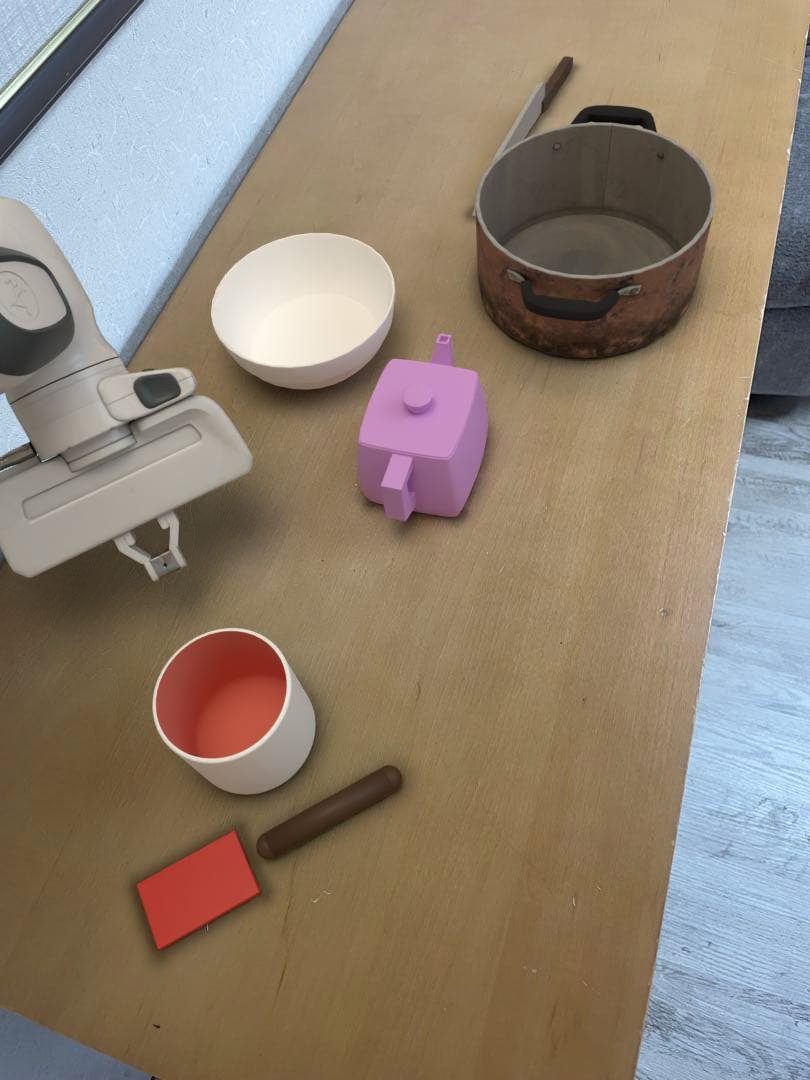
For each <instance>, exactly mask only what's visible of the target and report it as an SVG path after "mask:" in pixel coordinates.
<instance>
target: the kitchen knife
mask: <svg viewBox="0 0 810 1080" xmlns="http://www.w3.org/2000/svg"><path fill="white" fill-rule="evenodd" d="M573 65H574V57H572V56H567V55H565V56H563V57H562V59H561V60H560V61H559V63H558V65H557V66H556V68H555V69H554V70H553V73H552V74H551V76H550V77H549V79H548V80H547V81H546V83H544V82H540V81H539V82H538V83H537V84H536V86H535V88H534V89H533V90H532V92H531V94H530V95H529V97H528V99H527V101H526V102H525V105H524V106H523V107H522V109H521V111H520V112H519V114H518V116H517V117H516V119H515V121H514V123H513V124H512V126H511V128H510V130H509V131H508V133H507V134H506V137H505V138H504V140H503V141H502V143H501V144H500V146H499V148H498V150H497V151H496V154H494V157H493V159H492V161H491V163H492V162H493V161H494V160H495V159H496V158H497V157H498V156H499V155H500V154H501V153H503V152H504V151H506V150H507V149H508V148H510V147H511V146H513V145H514V144H516V143H517V142H519V141H521V140H523V139H525V138H527V135H528V133H529V132H530V130H531V129H532V128H533V127H534V125H535V123H536V122H537V120H538V118H539V117H540V115H541V113H545V111H546V109H547V108H548V106H549V105H550V103H551V101H552V100H553V98H554V97H555V95H556V94H557V92H558V91H559V89H560V88H561V87H562V84H563V83H564V82H565V80H566V78H567V77H568V75H570V72H571V70H572V68H573ZM471 216H472V217H475V218H476V213H475V206H474V208H473V211H472V215H471Z"/></svg>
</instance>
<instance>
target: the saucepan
mask: <svg viewBox="0 0 810 1080" xmlns="http://www.w3.org/2000/svg"><path fill="white" fill-rule="evenodd" d="M655 121H656V120H655V118H654V115H653V114H652V113H651V112H650V111H648V110H646V109H643V108H639V107H634V106H626V105H613V104H611V105H610V104H598V105H597V104H595V105H590V106H586V107H584V108H582V109H581V110H580V111H579V112H578V114H576V116H575V117H574V119H573V120H572V121H571V123H570V124H567V125H562V126H557V127H552V128H548V129H546V130H543V131H540V132H537V133H533V134H531V135H529V136H526V137H525V139H523V140H521V141H519V142H517V143H516V144H514V145H513V146H511V147H510V148H508V149H507V150H506V151H504V152H503V153H501V154H500V155H499V156H498V157H497V158H496V159H495V160H494V161H493V160H492V161H493V162H492V161H491V163H490V164H489V165H488V167H487V169H486V170H485V171H484V173H483V174H482V175H481V177H480V179H479V182H478V185H477V188H476V192H475V202H474V207H475V213H476V217H475V231H476V233H475V234H476V235H475V237H476V257H477V258H476V260H477V280H478V288H479V294H480V298H481V299H480V300H481V301H482V304H483V306H484V308H485V310H486V312H487V314H488V315H489V316H490V317H491V319H492V320H493V321H494V323H495V324H496V325H497V326H498V327H499V328H500V329H501V330H503V331H504V332H505V333H506V334H508V335H509V336H510V337H512V338H513V339H515V340H517V341H519V342H521V343H522V344H524V345H526V346H528V347H530V348H533V349H536V350H539V351H540V352H542V353H547V354H550V355H551V354H552V355H556V356H561V357H566V358H577V359H579V358H580V359H593V358H604V357H610V356H615V355H620V354H625V353H627V352H630V351H633V350H635V349H638V348H641V347H644V346H647V345H648V344H650V343H652V342H654V341H655V340H657V339H659V338H660V337H663V336H664V335H665V334H666V333H668V331H669V330H671V329H672V328H673V327H674V326H676V324H677V323H678V322H679V321H680V320H681V318H682V317H683V316H684V315H685V313H686V312H687V310H688V308H689V305H690V303H691V301H692V299H693V297H694V294H695V291H696V288H697V283H698V279H699V275H700V272H701V266H702V262H703V259H704V255H705V250H706V247H707V242H708V238H709V234H710V231H711V225H712V221H713V218H714V213H715V206H716V201H717V197H716V190H715V183H714V182H713V179H712V177H711V174H710V173H709V170H708V169H707V168H706V166H705V165H704V163H703V162H702V161H701V160H700V158H699V157H698V156H697V155H695V154H694V153H693V152H692V151H691V150H690V149H688V148H687V147H686V146H685V145H683V144H681V143H680V142H677V141H676V140H675V139H673V138H671V137H669V136H666V135H664V134H661V133H659V132H658V131H657V125H656V122H655Z"/></svg>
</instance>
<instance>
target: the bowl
mask: <svg viewBox="0 0 810 1080" xmlns="http://www.w3.org/2000/svg"><path fill="white" fill-rule="evenodd" d="M395 301H396V282H395V278H394V275H393V273H392V269H391V267H390V266H389V264H388V262H386V260H385V259H384V257H383V256H382V255H381V254H380V253H379V252H378V251H376V250H375V248H373V247H372V246H370V245H368V244H367V243H365V242H362V241H361V240H359V239H356V238H353V237H350V236H347V235H342V234H337V233H330V232H308V233H300V234H292V235H289V236H286V237H282V238H278V239H275V240H273V241H271V242H268V243H266V244H263V245H261V246H259V247H257V248H256V249H254V250H252V251H251V252H249V253H247V254H246V255H245V256H244V257H242V258H241V259H240V260H238V261H237V262H236V263H234V264H233V266H232V267H231V268H230V269H229V270H227V272H226V273H225V274H224V275H223V277H222V279H221V281H220V282H219V283H218V285H217V287H216V288H215V291H214V294H213V298H212V301H211V311H210V317H211V322H212V327H213V330H214V332H215V334H216V336H217V338H218V340H219V342H220V343H221V344H222V346H223V347H224V348H225V350H226V351H227V352H228V355H230V357H231V358H232V359H233V360H234V361H235V362H236V363H237V364H238V365H239V367H241V368H243V369H244V370H245V371H247V372H248V373H249V374H251V375H253V376H256V377H257V378H259V379H260V380H262V381H264V382H266V383H268V384H271V385H273V386H277V387H280V388H285V389H286V388H287V389H291V390H307V391H308V390H315V389H322V388H326V387H331V386H334V385H336V384H338V383H340V382H343V381H345V380H347V379H349V378H350V377H352V376H353V375H355V374H356V373H358V372H359V371H360V370H361V369H363V368H364V367H365V366H366V365H367V364H368V363H369V362H370V361H371V360H373V358H374V357H375V355H376V354H377V353H378V352H379V350H380V348H381V346H382V344H383V343H384V341H385V339H386V337H387V336H388V333H389V331H390V329H391V327H392V323H393V318H394V314H395V313H394V312H395V303H396V302H395Z"/></svg>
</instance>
